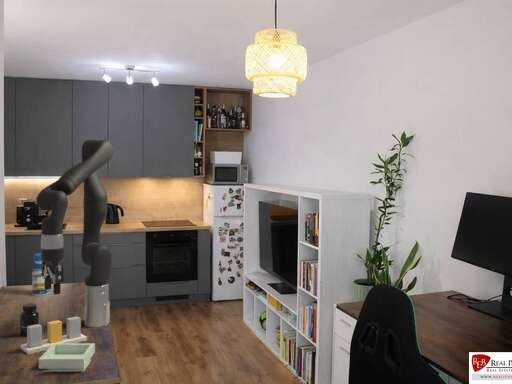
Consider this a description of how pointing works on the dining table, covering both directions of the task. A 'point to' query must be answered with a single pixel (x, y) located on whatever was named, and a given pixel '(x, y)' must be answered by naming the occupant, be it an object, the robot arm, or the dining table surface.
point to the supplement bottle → (28, 318)
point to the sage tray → (67, 357)
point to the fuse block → (47, 345)
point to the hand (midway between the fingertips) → (52, 291)
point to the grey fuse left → (34, 336)
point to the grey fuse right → (73, 327)
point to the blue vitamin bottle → (38, 277)
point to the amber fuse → (54, 331)
